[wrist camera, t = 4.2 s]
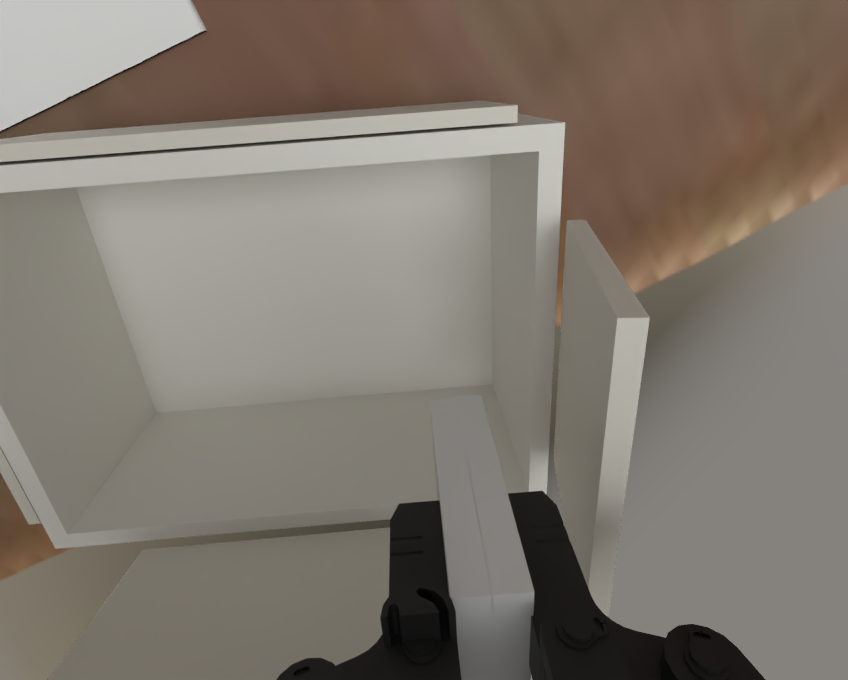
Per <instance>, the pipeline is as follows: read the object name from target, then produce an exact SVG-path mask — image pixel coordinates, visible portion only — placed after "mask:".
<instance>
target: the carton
mask: <svg viewBox="0 0 848 680" xmlns="http://www.w3.org/2000/svg"><path fill="white" fill-rule="evenodd" d="M564 133H565V122H560V121H555V120H550V119H545V118H540V117H534V116H529V115H524V114H519V113H518V105H513V104H505V103H497V102H490V101H482V100H480V101H466V102H453V103H440V104H427V105H414V106H400V107H387V108H374V109H361V110H347V111H334V112H321V113H308V114H295V115H281V116H268V117H255V118H242V119H228V120H215V121H202V122H189V123H176V124H162V125H149V126H136V127H123V128H110V129H96V130H83V131H70V132H57V133H45V134H37V135H29V136H21V137H13V138H5V139H0V473H1V475H2V477H3V478H4V480H5V482H6V484H7V486H8V487H9V489H10V491H11V493H12V495H13V497H14V498H15V500H16V502H17V504H18V506H19V507H20V509H21V511H22V513H23V515H24V516H25V518H26V520H27V522H28V524H39V523H42V525H43V527H44V528H45V530H46V532H47V534H48V536H49V538H50V540H51V541H52V543H53V545H54V547H55V549H59V548H71V547H82V546H93V545H104V544H114V543H115V544H116V543H127V542H138V541H149V540H159V539H160V540H161V539H172V538H183V537H194V536H205V535H217V534H228V533H239V532H249V531H250V532H251V531H261V530H272V529H284V528H296V527H307V526H318V525H329V524H340V523H351V522H363V521H374V520H385V519H391V518H392V516H393V514H394V512H395V510H396V508H397V506H398V504H400V503H412V502H424V501H437V490H436V479H435V467H434V453H433V438H432V423H431V409H430V399H437V398H450V397H463V396H475V395H481V397H482V401H483V405H484V408H485V412H486V416H487V419H488V423H489V427H490V430H491V434H492V438H493V441H494V445H495V449H496V452H497V456H498V460H499V463H500V467H501V471H502V474H503V478H504V482H505V485H506V489H507V493H520V492H532V491H543V492H544V493H545V494H546V495H547V473H548V454H549V433H550V413H551V394H552V374H553V353H554V333H555V314H556V294H557V274H558V254H559V234H560V213H561V193H562V173H563V153H564Z"/></svg>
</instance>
